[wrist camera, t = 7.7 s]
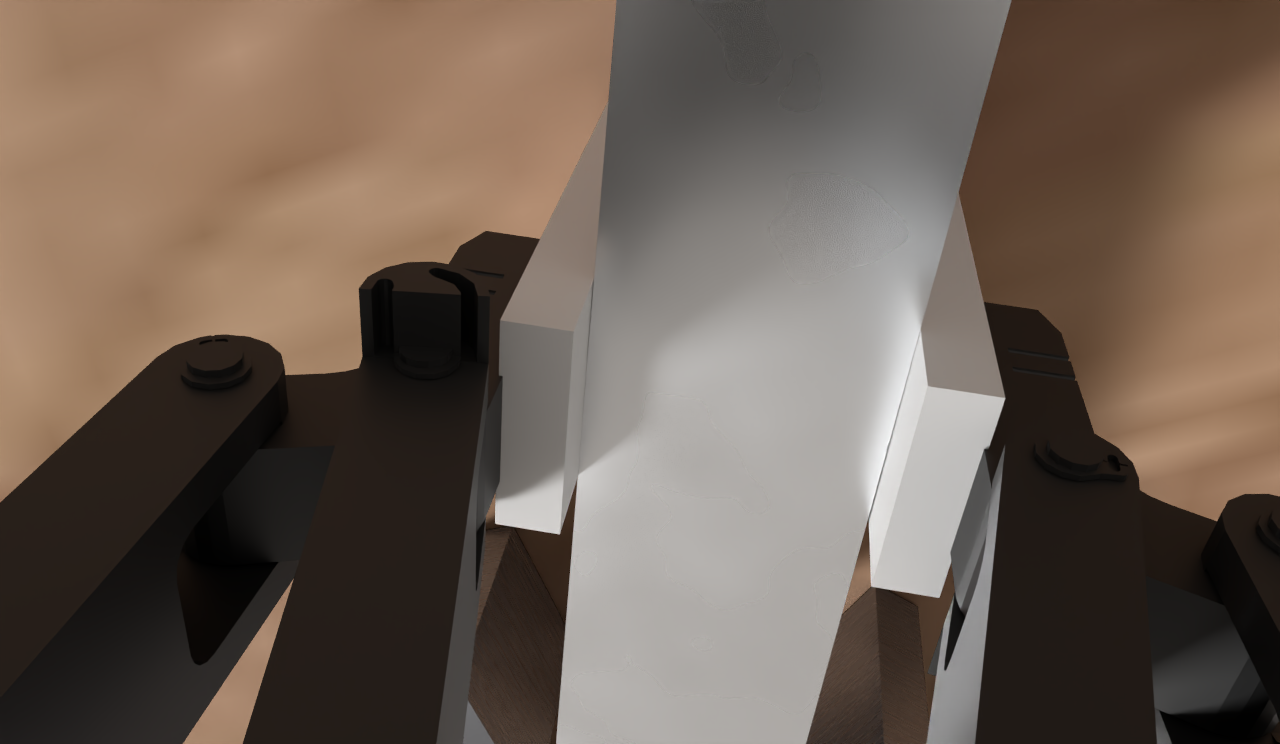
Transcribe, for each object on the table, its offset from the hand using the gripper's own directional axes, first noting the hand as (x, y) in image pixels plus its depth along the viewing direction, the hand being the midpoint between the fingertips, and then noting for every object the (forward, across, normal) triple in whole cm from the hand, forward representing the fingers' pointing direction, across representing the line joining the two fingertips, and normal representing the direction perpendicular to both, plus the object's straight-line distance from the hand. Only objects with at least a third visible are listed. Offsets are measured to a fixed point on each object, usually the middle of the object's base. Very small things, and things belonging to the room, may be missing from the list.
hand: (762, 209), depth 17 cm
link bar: (+1, 0, 0) cm, 1 cm away
